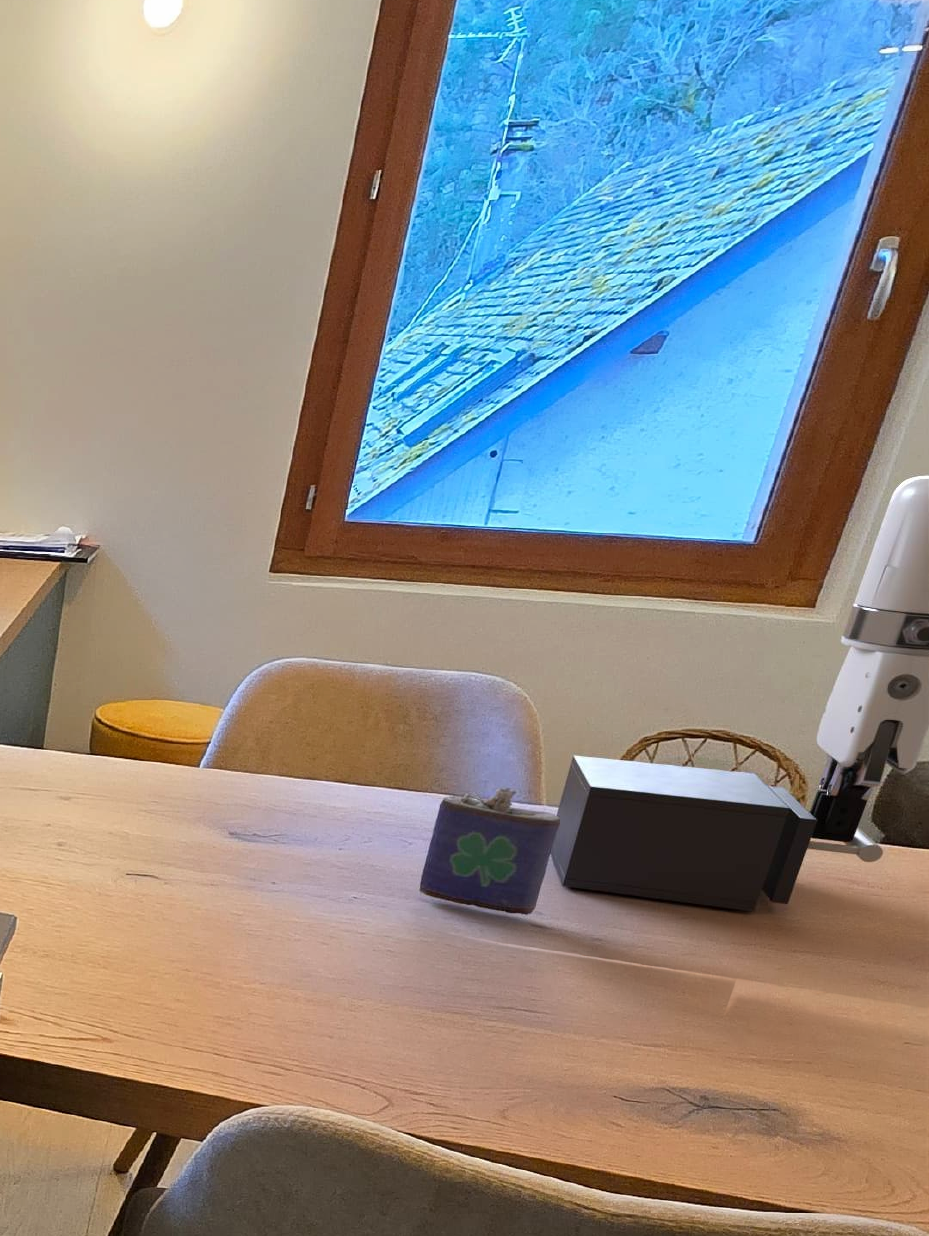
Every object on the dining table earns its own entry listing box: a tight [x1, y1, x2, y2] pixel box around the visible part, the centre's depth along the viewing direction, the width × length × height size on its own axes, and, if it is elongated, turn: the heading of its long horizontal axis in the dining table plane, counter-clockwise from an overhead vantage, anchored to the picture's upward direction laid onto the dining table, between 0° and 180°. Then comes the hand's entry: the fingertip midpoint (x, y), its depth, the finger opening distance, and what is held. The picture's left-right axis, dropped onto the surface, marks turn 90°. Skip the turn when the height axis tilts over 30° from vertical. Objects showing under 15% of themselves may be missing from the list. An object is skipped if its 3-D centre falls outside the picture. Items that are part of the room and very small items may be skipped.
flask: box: [418, 787, 560, 916], centre depth 121 cm, size 9×3×11 cm, turn 52°
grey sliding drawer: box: [761, 785, 884, 905], centre depth 126 cm, size 19×11×8 cm, turn 64°
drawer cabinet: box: [550, 755, 789, 912], centre depth 128 cm, size 15×13×10 cm
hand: (826, 837), depth 123 cm, fingers closed
